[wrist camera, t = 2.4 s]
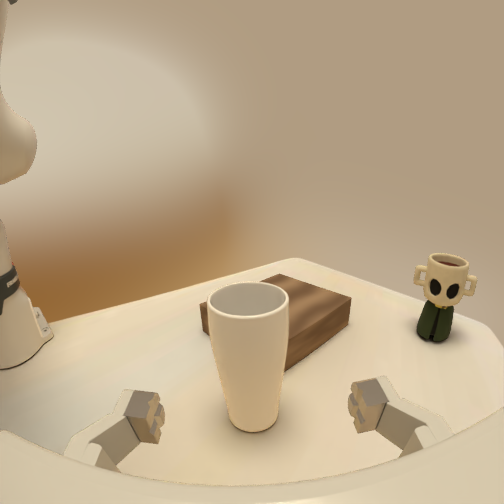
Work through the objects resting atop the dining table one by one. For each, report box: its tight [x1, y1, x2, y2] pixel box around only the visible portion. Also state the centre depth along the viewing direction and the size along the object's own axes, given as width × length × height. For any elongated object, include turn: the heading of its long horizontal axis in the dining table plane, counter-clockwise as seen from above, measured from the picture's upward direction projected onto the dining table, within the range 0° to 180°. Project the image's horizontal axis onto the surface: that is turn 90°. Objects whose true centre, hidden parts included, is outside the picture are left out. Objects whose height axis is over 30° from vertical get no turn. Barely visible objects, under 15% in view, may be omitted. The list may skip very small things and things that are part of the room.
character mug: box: [414, 253, 477, 341], centre depth 36 cm, size 11×7×13 cm, turn 49°
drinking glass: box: [207, 282, 289, 432], centre depth 25 cm, size 7×7×15 cm
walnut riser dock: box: [200, 274, 351, 372], centre depth 43 cm, size 16×18×5 cm
